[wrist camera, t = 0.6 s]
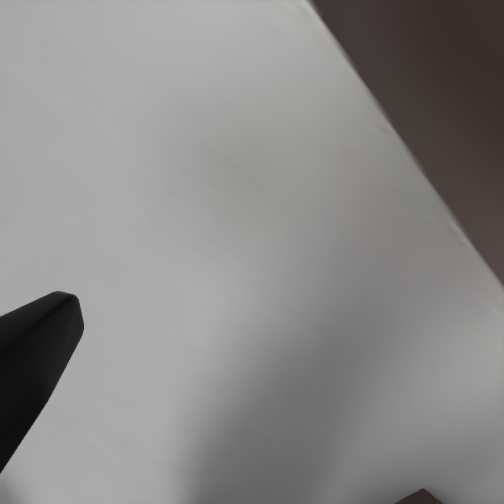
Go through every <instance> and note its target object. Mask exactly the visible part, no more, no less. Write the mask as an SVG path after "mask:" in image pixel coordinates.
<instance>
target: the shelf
mask: <svg viewBox="0 0 504 504" xmlns="http://www.w3.org/2000/svg"><path fill="white" fill-rule="evenodd" d="M397 504H441V503H440V502H438V501H437V500H436V499H435V498H434V497H433V496H431V495H430V494H429V493H428V492H427V491H425V490H424V489H422V490H420V491H418V492H416V493H415V494H413V495H411V496H409V497H407V498H406V499H404V500H402V501H400V502H398V503H397Z"/></svg>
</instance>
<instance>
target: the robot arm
mask: <svg viewBox="0 0 504 504" xmlns="http://www.w3.org/2000/svg"><path fill="white" fill-rule="evenodd" d="M83 331H84V322H83V317H82V312H81V308H80V303H79V299H78V298H77V297H76V295H74V294H70V293H65V292H61V291H55V292H52V293H50V294H48V295H46V296H44V297H42V298H39V299H37V300H35V301H33V302H31V303H29V304H26V305H24V306H22V307H20V308H18V309H16V310H14V311H11V312H9V313H7V314H5V315H3V316H1V317H0V473H1V472H2V470H3V469H4V467H5V466H6V464H7V463H8V461H9V460H10V458H11V457H12V455H13V454H14V452H15V451H16V449H17V448H18V446H19V445H20V443H21V442H22V440H23V439H24V437H25V435H26V434H27V432H28V431H29V429H30V428H31V426H32V425H33V423H34V422H35V420H36V419H37V417H38V416H39V414H40V413H41V411H42V410H43V408H44V406H45V405H46V403H47V402H48V400H49V398H50V396H51V394H52V393H53V391H54V389H55V387H56V385H57V383H58V381H59V379H60V377H61V375H62V374H63V372H64V370H65V368H66V366H67V364H68V362H69V360H70V358H71V356H72V354H73V352H74V351H75V349H76V347H77V345H78V343H79V341H80V339H81V337H82V334H83Z"/></svg>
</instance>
